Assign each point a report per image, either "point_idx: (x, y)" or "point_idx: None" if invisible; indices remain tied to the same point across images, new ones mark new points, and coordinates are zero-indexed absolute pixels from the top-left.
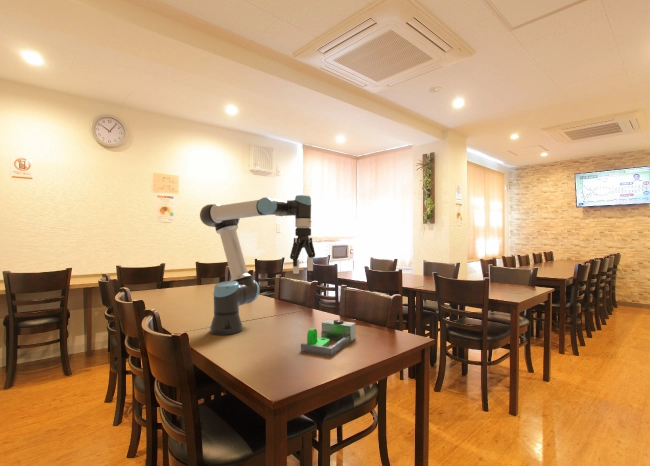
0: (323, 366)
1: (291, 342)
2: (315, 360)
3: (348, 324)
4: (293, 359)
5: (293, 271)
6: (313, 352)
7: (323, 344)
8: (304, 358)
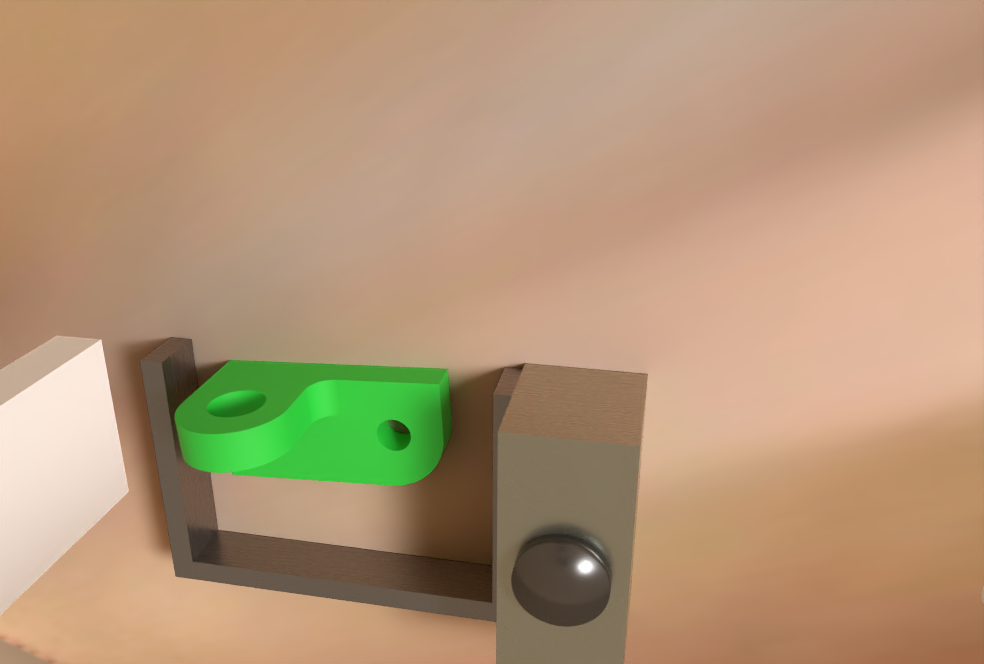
0: None
1: (299, 170)
2: None
3: (540, 661)
4: None
5: (17, 374)
6: None
7: (287, 476)
8: None
